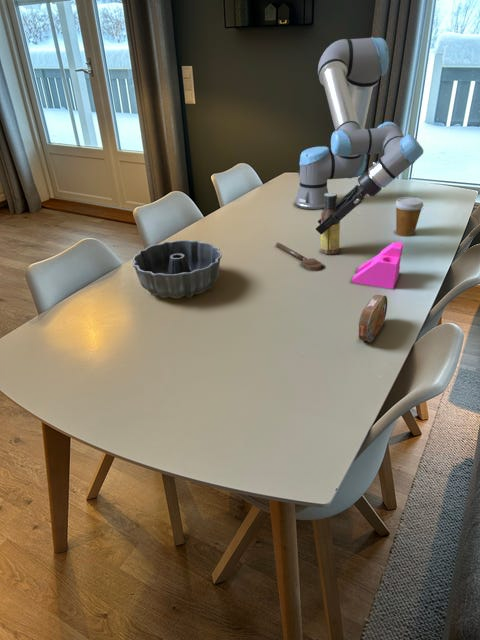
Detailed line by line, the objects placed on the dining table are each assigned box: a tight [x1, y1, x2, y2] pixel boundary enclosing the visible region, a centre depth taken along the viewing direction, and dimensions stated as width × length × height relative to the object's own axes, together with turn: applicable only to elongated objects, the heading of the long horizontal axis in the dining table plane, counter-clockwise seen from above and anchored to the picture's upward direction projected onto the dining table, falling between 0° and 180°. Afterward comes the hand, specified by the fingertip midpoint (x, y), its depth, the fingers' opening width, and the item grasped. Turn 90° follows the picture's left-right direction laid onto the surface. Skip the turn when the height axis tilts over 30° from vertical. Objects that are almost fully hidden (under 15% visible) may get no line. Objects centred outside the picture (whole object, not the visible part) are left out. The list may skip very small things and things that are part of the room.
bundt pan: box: [132, 239, 223, 299], centre depth 141 cm, size 26×26×10 cm
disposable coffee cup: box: [395, 196, 425, 237], centre depth 168 cm, size 10×10×12 cm
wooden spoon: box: [275, 242, 323, 271], centre depth 157 cm, size 24×5×2 cm, turn 29°
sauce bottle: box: [320, 192, 341, 255], centre depth 155 cm, size 6×6×20 cm
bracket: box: [351, 241, 404, 290], centre depth 139 cm, size 12×10×10 cm
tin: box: [358, 294, 388, 343], centre depth 114 cm, size 15×3×8 cm, turn 148°
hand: (319, 227), depth 156 cm, fingers closed on sauce bottle, 6 cm apart
